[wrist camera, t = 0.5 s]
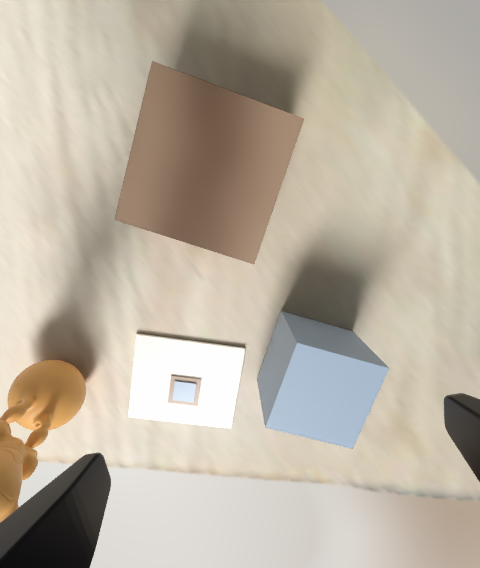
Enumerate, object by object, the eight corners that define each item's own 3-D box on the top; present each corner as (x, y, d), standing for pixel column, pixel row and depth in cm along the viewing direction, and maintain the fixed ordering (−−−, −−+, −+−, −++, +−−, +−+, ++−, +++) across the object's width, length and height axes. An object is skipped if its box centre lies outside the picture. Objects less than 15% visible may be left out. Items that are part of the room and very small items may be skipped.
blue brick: (352, 331, 21) (389, 368, 17) (325, 396, 22) (352, 448, 18) (280, 310, 21) (297, 342, 16) (256, 378, 22) (265, 427, 17)
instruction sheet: (245, 347, 21) (245, 350, 21) (231, 426, 23) (231, 430, 22) (136, 333, 21) (135, 335, 20) (128, 415, 22) (127, 418, 22)
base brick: (288, 136, 19) (304, 118, 15) (248, 252, 20) (254, 264, 16) (168, 92, 18) (151, 61, 14) (137, 216, 19) (114, 219, 15)
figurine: (-4, 344, 21) (-306, 527, 9) (70, 292, 20) (-148, 417, 8) (82, 436, 22) (-74, 689, 11) (153, 392, 22) (69, 607, 10)
